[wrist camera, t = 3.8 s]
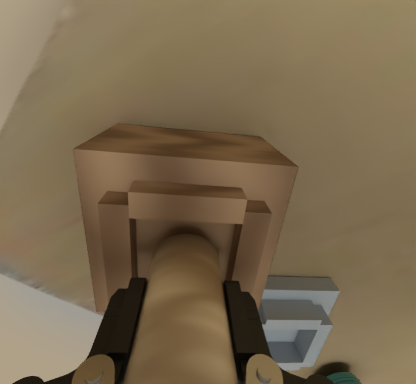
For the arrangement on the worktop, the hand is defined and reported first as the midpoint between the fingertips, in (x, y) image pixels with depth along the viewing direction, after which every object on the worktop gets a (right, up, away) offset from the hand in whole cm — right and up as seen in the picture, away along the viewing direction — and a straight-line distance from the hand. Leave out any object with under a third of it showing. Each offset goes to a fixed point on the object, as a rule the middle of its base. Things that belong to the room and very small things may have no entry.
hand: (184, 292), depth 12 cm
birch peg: (0, +1, +2) cm, 2 cm away
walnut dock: (-1, +5, +10) cm, 11 cm away
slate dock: (+9, -10, +18) cm, 23 cm away
